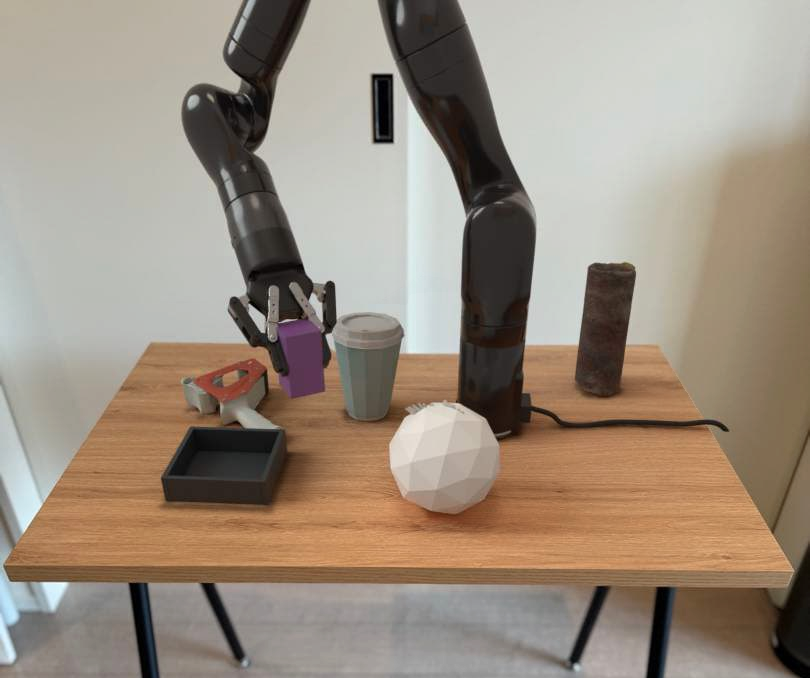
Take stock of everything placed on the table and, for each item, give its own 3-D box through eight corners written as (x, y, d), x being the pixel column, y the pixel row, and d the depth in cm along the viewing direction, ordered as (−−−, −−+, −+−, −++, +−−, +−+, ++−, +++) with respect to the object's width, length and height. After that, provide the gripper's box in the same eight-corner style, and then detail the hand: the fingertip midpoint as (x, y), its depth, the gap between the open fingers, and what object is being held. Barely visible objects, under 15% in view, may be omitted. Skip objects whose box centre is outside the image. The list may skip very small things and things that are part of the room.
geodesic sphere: (347, 485, 96) (419, 407, 88) (371, 428, 108) (437, 353, 100) (442, 555, 100) (520, 486, 92) (456, 493, 112) (526, 426, 103)
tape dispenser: (279, 462, 115) (306, 390, 130) (277, 431, 111) (305, 361, 126) (159, 450, 116) (200, 381, 131) (153, 419, 112) (195, 351, 127)
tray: (287, 455, 113) (285, 429, 111) (268, 510, 103) (265, 481, 100) (195, 452, 114) (190, 426, 112) (166, 505, 103) (160, 478, 101)
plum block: (279, 384, 101) (272, 324, 97) (312, 377, 103) (307, 317, 98) (291, 399, 98) (285, 337, 93) (325, 391, 100) (321, 330, 95)
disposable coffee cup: (338, 395, 128) (333, 304, 119) (405, 396, 128) (406, 305, 119) (331, 428, 120) (325, 332, 111) (403, 429, 120) (403, 334, 110)
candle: (565, 390, 130) (582, 267, 118) (580, 373, 135) (597, 253, 123) (611, 401, 127) (633, 275, 115) (625, 383, 132) (647, 261, 120)
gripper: (209, 233, 93) (253, 370, 91) (324, 217, 98) (367, 347, 96) (204, 265, 100) (245, 393, 98) (311, 249, 105) (352, 370, 103)
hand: (305, 369), depth 97 cm, fingers closed on plum block, 4 cm apart
